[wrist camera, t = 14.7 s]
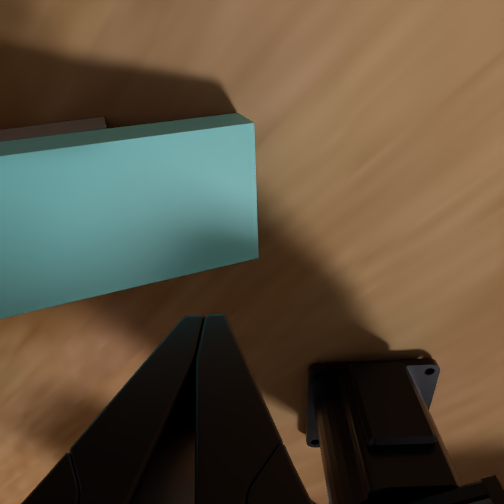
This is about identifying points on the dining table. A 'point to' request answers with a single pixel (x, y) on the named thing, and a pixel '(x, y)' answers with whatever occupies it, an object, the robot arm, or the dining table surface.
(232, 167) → the teal domino
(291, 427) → the dining table surface
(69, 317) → the dining table surface
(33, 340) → the dining table surface
